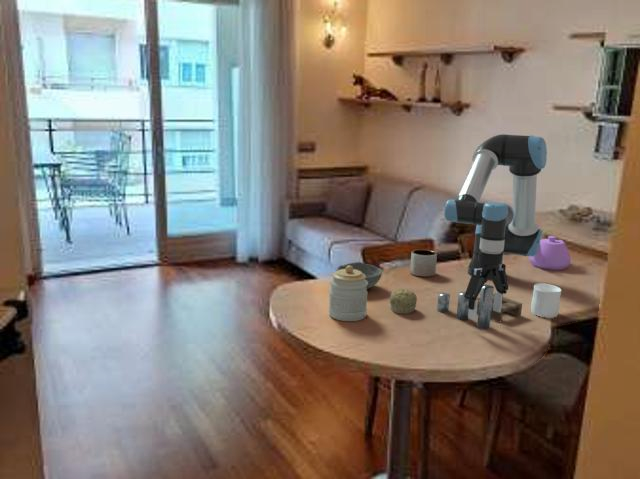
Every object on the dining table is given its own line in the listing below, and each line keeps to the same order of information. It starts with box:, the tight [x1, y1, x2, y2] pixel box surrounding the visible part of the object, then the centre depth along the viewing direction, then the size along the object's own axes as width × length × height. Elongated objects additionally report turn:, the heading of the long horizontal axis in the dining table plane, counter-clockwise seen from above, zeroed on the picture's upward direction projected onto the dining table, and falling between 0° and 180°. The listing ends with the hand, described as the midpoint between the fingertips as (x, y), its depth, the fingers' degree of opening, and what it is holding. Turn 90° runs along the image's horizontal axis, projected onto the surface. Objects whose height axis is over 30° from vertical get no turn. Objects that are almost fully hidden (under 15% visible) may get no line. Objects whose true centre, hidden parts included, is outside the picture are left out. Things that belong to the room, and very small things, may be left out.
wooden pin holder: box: [476, 293, 523, 323], centre depth 208 cm, size 12×12×4 cm
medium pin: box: [456, 291, 470, 322], centre depth 201 cm, size 4×4×9 cm
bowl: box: [336, 261, 383, 290], centre depth 231 cm, size 18×18×8 cm
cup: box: [530, 282, 562, 319], centre depth 208 cm, size 10×10×10 cm
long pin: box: [476, 284, 495, 330], centre depth 194 cm, size 4×4×14 cm
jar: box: [328, 265, 368, 322], centre depth 200 cm, size 13×13×18 cm
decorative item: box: [389, 288, 418, 314], centre depth 208 cm, size 10×10×10 cm
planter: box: [409, 248, 438, 278], centre depth 252 cm, size 11×11×10 cm
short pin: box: [436, 292, 451, 313], centre depth 209 cm, size 4×4×6 cm
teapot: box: [528, 235, 571, 271], centre depth 270 cm, size 25×18×14 cm
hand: (484, 314), depth 194 cm, fingers open, 12 cm apart
